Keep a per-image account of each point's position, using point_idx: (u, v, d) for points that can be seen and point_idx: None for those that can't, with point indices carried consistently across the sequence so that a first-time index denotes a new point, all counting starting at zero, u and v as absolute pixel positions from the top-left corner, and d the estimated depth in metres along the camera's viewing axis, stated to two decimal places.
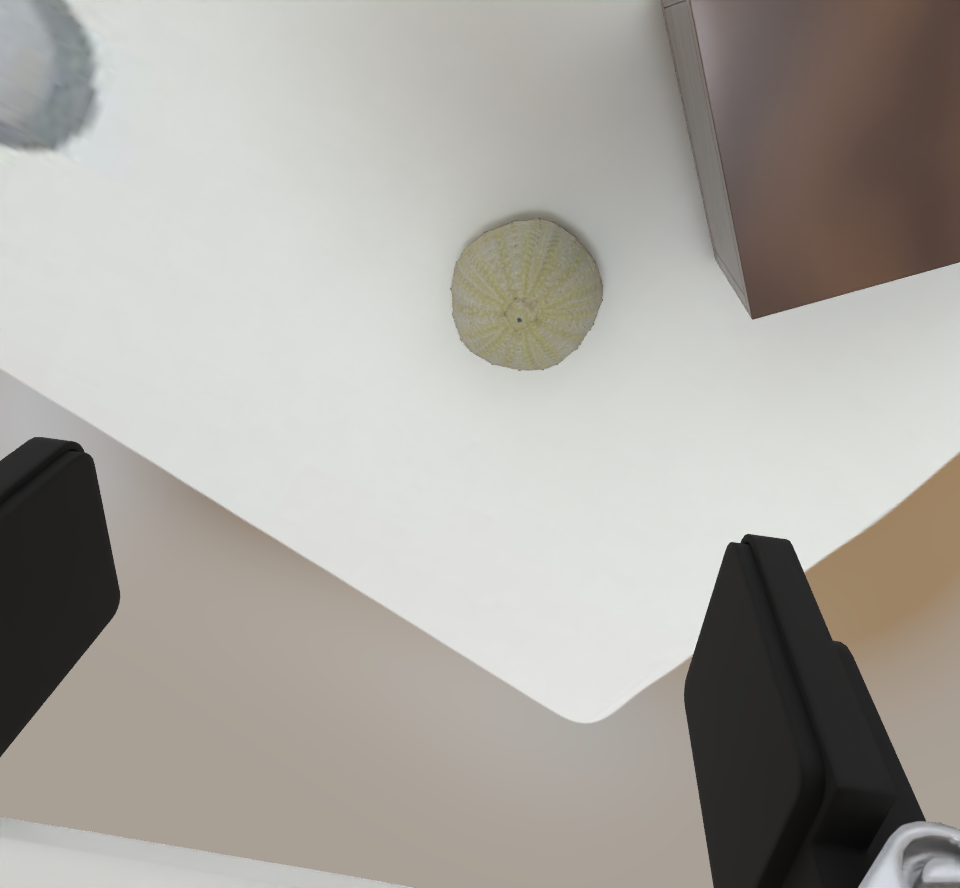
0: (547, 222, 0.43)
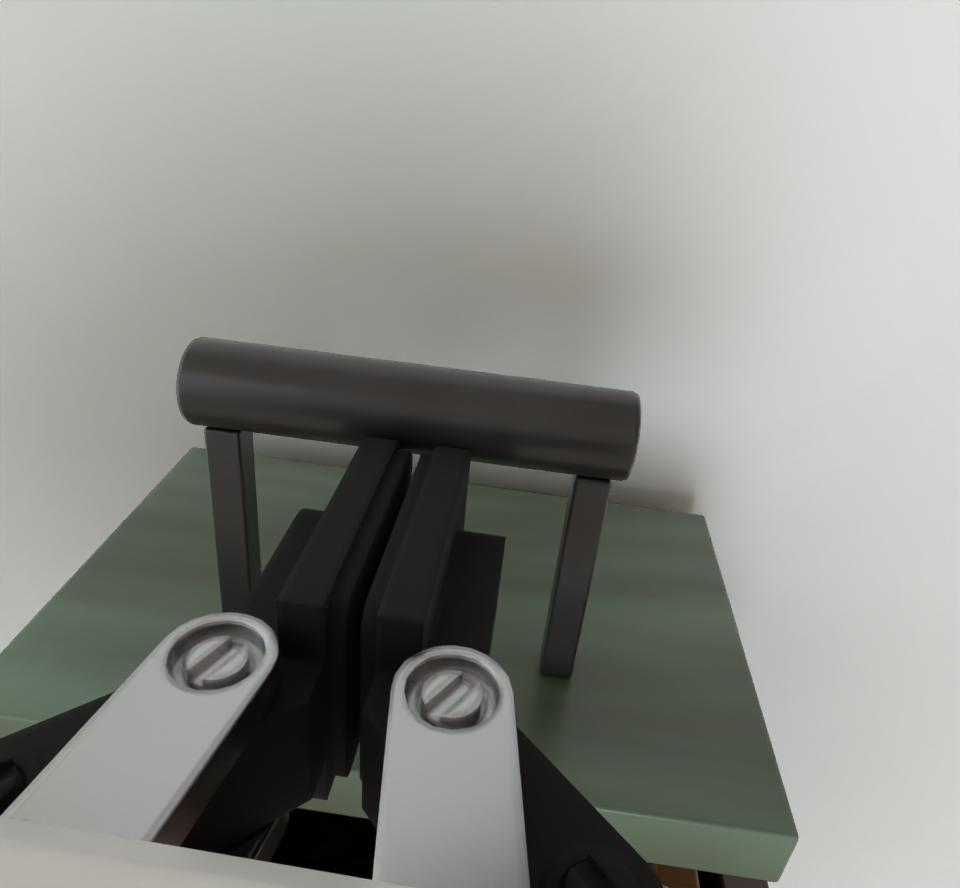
0: None
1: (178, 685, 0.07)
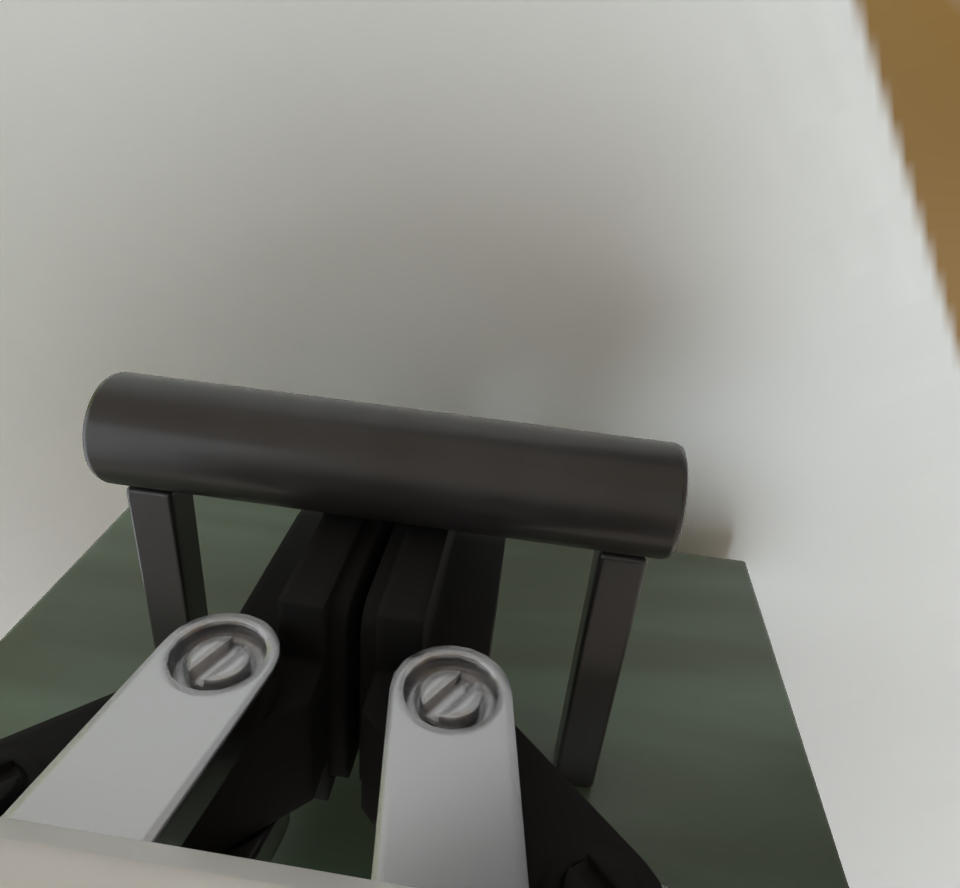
0: None
1: (178, 685, 0.07)
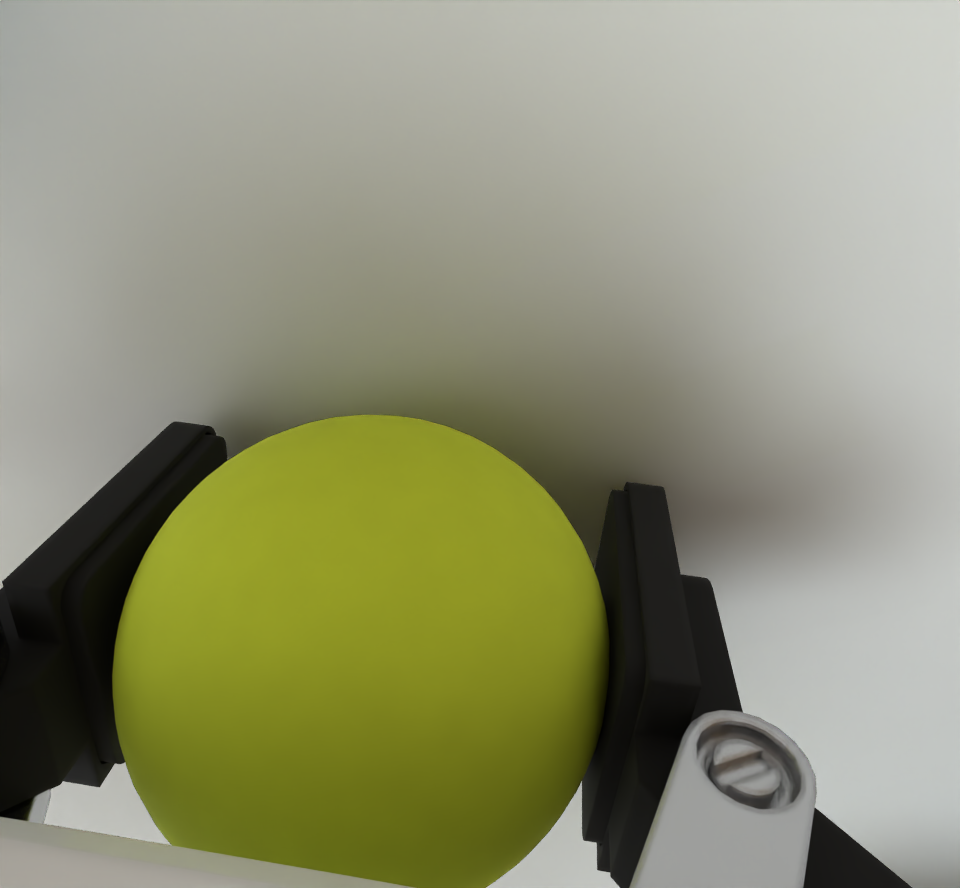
0: None
1: None
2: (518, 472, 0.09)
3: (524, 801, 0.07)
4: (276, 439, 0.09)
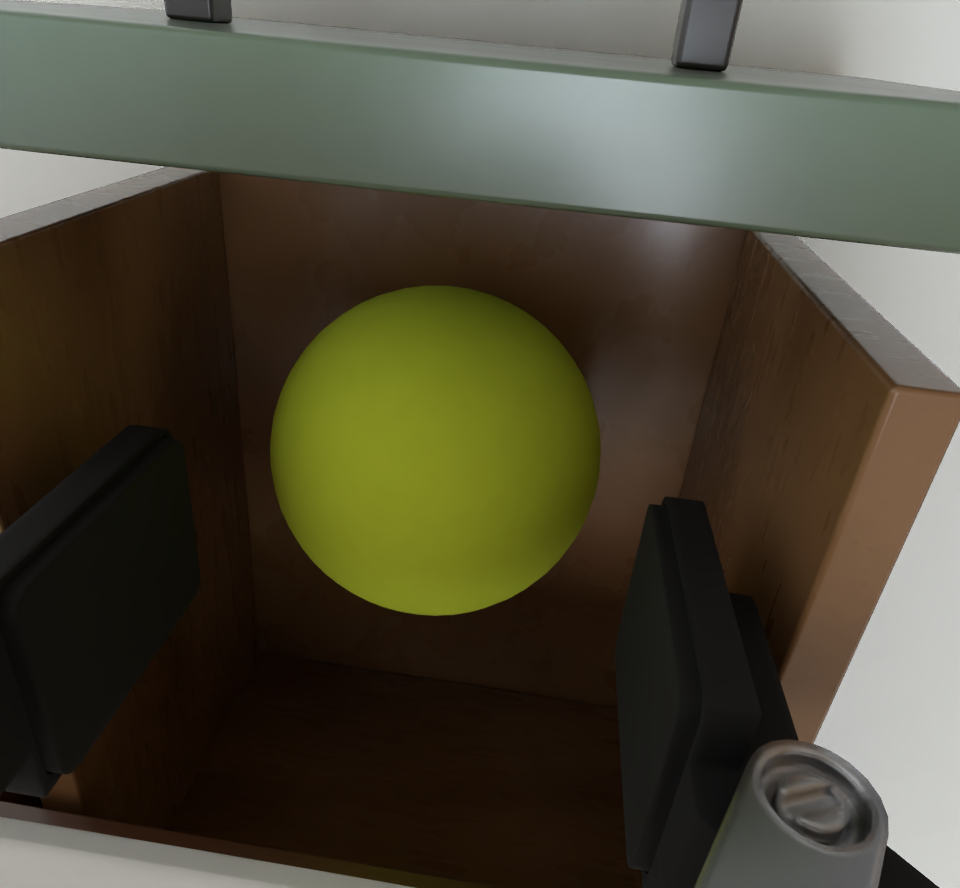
0: None
1: None
2: (538, 321, 0.13)
3: (545, 504, 0.11)
4: None
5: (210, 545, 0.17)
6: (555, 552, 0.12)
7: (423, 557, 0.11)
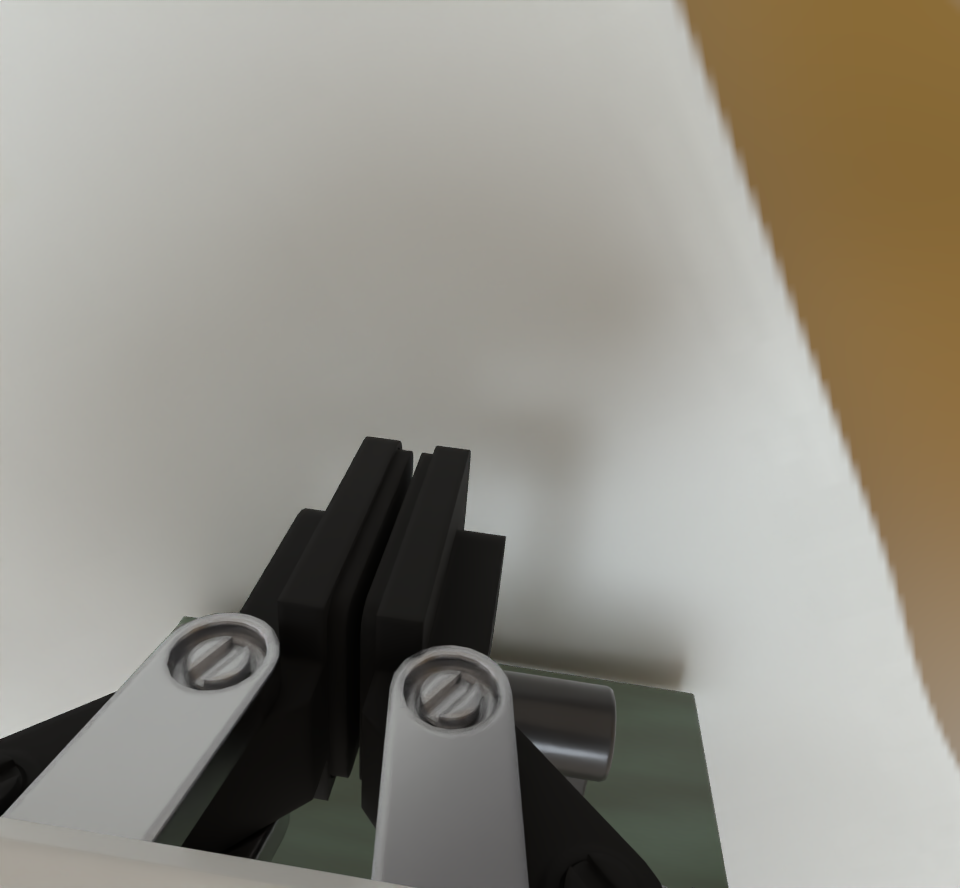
0: None
1: (178, 685, 0.07)
2: None
3: None
4: None
5: None
6: None
7: None
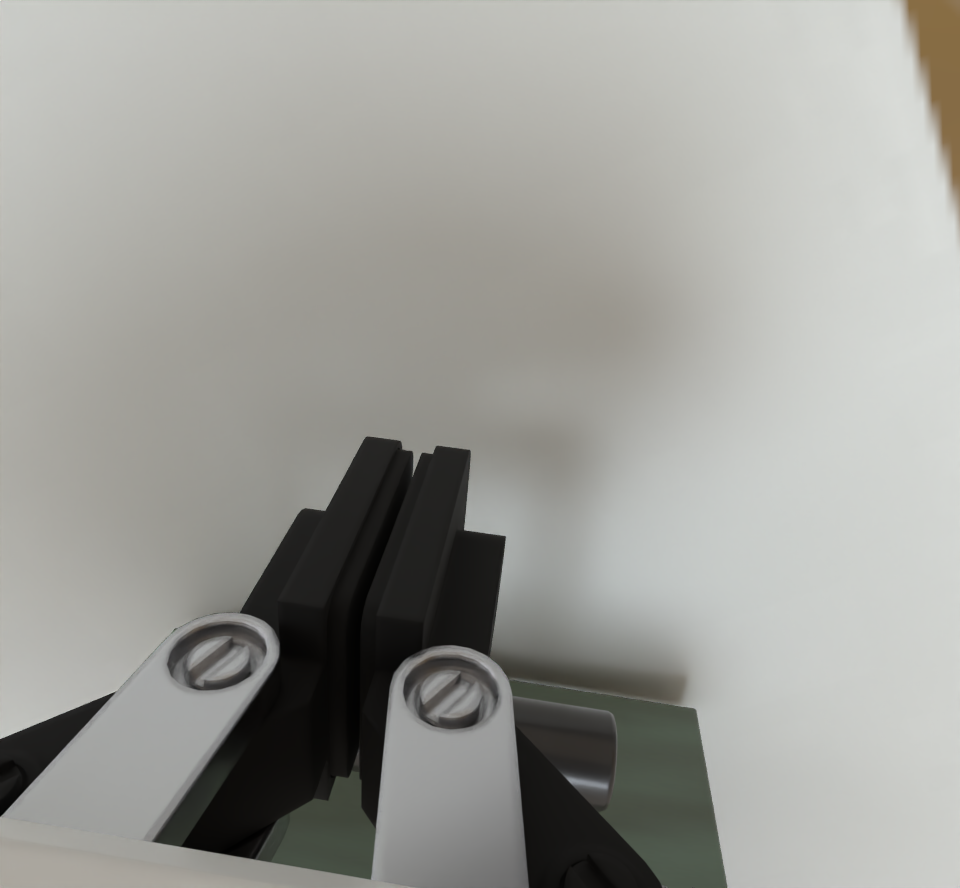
0: None
1: (178, 685, 0.07)
2: None
3: None
4: None
5: None
6: None
7: None
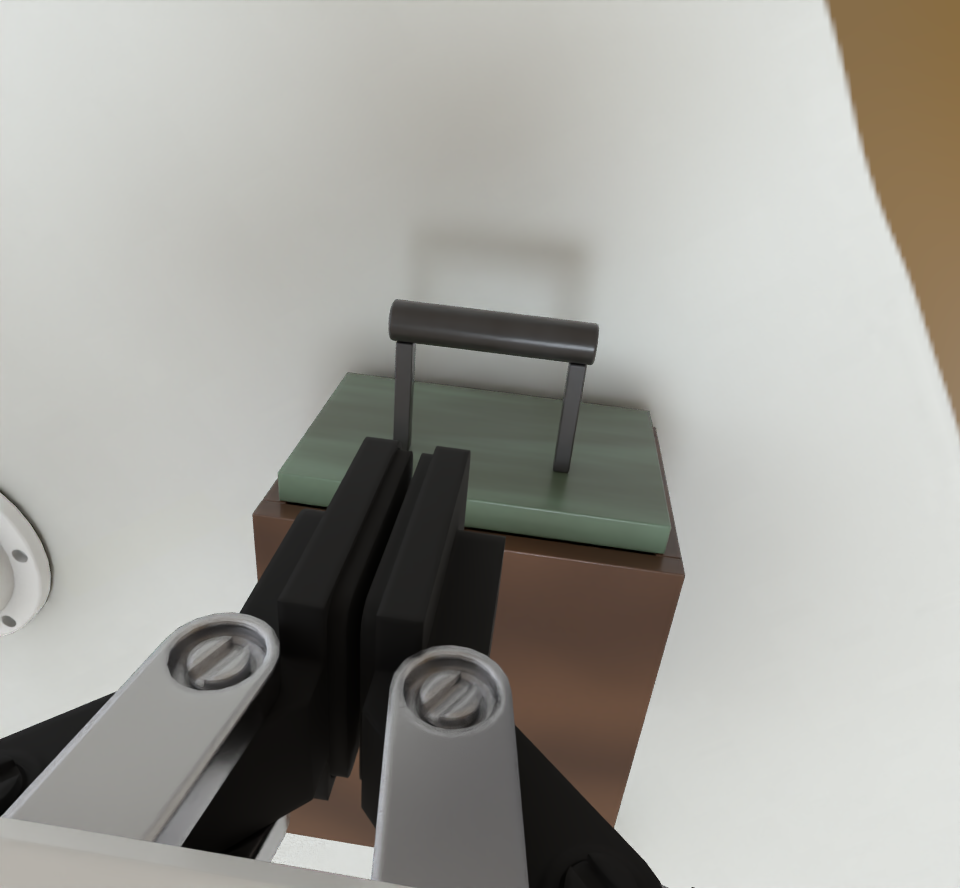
0: None
1: (179, 685, 0.07)
2: None
3: None
4: None
5: None
6: None
7: None
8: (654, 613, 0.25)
